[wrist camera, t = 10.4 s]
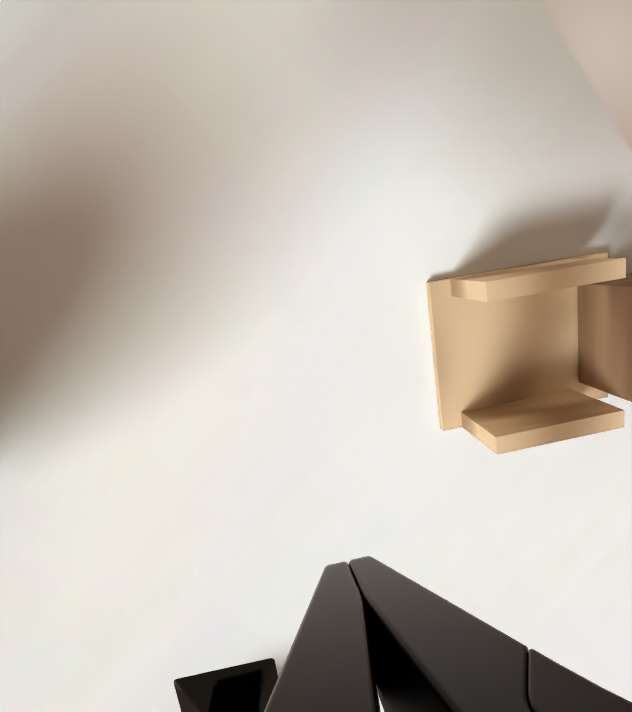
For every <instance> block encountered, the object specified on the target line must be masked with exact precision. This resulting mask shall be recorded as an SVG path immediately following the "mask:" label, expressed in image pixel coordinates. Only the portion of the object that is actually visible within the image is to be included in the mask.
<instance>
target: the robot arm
mask: <svg viewBox="0 0 632 712" xmlns="http://www.w3.org/2000/svg"><path fill="white" fill-rule="evenodd" d="M377 691H378V692H377ZM378 695H379V698H380V701H381V703H382V706H383V709H384V712H632V702H630V701H628V700H626V699H624V698H622V697H620V696H618V695H616V694H614V693H612V692H610V691H608V690H606V689H604V688H602V687H600V686H598V685H597V684H595V683H593V682H591V681H589V680H587V679H586V678H584V677H582V676H580V675H578V674H576V673H575V672H573V671H571V670H569V669H567V668H565V667H564V666H562V665H560V664H558V663H556V662H555V661H553V660H551V659H549V658H548V657H546V656H544V655H542V654H541V653H539V652H537V651H535V650H534V649H530V650H529V651H528V648H527V647H526V646H525V645H523V644H521V643H520V642H518V641H516V640H515V639H513V638H511V637H509V636H508V635H506V634H504V633H502V632H501V631H499V630H497V629H496V628H494V627H492V626H490V625H489V624H487V623H485V622H483V621H482V620H480V619H478V618H476V617H475V616H473V615H471V614H470V613H468V612H466V611H464V610H463V609H461V608H459V607H457V606H456V605H454V604H452V603H450V602H449V601H447V600H445V599H444V598H442V597H440V596H438V595H437V594H435V593H433V592H431V591H430V590H428V589H426V588H424V587H423V586H421V585H419V584H418V583H416V582H414V581H412V580H411V579H409V578H407V577H405V576H404V575H402V574H400V573H398V572H397V571H395V570H393V569H392V568H390V567H388V566H386V565H385V564H383V563H381V562H379V561H378V560H376V559H374V558H372V557H370V556H366V557H362V558H358V559H353V560H351V561H350V562H349V565H348V563H347V562H340V563H336V564H332V565H328V566H326V567H325V569H324V571H323V573H322V576H321V578H320V581H319V583H318V585H317V588H316V590H315V592H314V595H313V597H312V599H311V602H310V604H309V607H308V609H307V611H306V614H305V616H304V618H303V621H302V623H301V626H300V628H299V630H298V633H297V635H296V637H295V640H294V642H293V644H292V647H291V649H290V652H289V654H288V656H287V659H286V661H285V663H284V666H283V668H282V671H281V673H280V675H279V678H278V680H277V682H276V685H275V687H274V690H273V692H272V694H271V697H270V699H269V701H268V704H267V706H266V708H265V711H264V712H380V705H379V698H378Z"/></svg>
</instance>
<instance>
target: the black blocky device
mask: <svg viewBox="0 0 632 712" xmlns="http://www.w3.org/2000/svg"><path fill="white" fill-rule="evenodd" d="M277 680H278V675H277V670H276V665H275V661H274V659H272V658H270V659H265V660H261V661H256V662H252V663H247V664H243V665H238V666H234V667H229V668H224V669H220V670H215V671H211V672H206V673H202V674H197V675H193V676H188V677H184V678H179V679H176V680H174V686H175V689H176V693H177V697H178V701H179V704H180V708H181V712H264V711H265V708H266V706H267V704H268V701H269V699H270V697H271V694H272V692H273V690H274V687H275V685H276V682H277Z"/></svg>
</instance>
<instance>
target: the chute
mask: <svg viewBox="0 0 632 712" xmlns="http://www.w3.org/2000/svg"><path fill="white" fill-rule="evenodd" d="M621 278H626V258H608V252H602V253H596V254H590V255H584V256H578V257H572V258H566V259H560V260H554V261H549V262H543V263H537V264H531V265H525V266H519V267H513V268H507V269H502V270H496V271H490V272H484V273H478V274H472V275H466V276H460V277H455V278H449V279H443V280H437V281H431V282H426V284H427V295H428V306H429V316H430V327H431V337H432V348H433V359H434V369H435V380H436V390H437V401H438V412H439V422H440V428H441V429H442V430H443V431H445V430H450V429H455V428H460V427H463V428H464V429H465V430H467V431H468V432H469V433H471V434H472V435H473V436H474V437H476V438H477V439H478V440H479V441H481V442H482V443H483V444H484V445H486V446H487V447H488V448H489V449H491V450H492V451H493V452H495V453H496V454H502V453H506V452H511V451H516V450H520V449H525V448H530V447H534V446H539V445H544V444H548V443H553V442H558V441H562V440H567V439H572V438H576V437H581V436H586V435H590V434H595V433H599V432H604V431H609V430H613V429H618V428H623V427H624V410H622V409H620V408H617V407H615V406H612V405H610V404H607V403H605V402H602V401H599V400H597V399H600V398H605V397H608V393H607V392H604V391H601V390H598V389H596V388H593V387H590V386H587V385H585V384H582V383H579V371H578V299H577V286H582V285H588V284H593V283H599V282H605V281H610V280H616V279H621Z"/></svg>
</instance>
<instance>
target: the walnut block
mask: <svg viewBox="0 0 632 712" xmlns="http://www.w3.org/2000/svg"><path fill="white" fill-rule="evenodd" d="M577 299H578V371H579V383H582V384H585V385H587V386H590V387H593V388H596V389H598V390H601V391H604V392H607V393H609V394H612V395H615V396H617V397H620V398H623V399H626V400H628V401H631V402H632V274H630V275H626V278H621V279H616V280H610V281H605V282H599V283H593V284H588V285H582V286H577Z"/></svg>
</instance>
